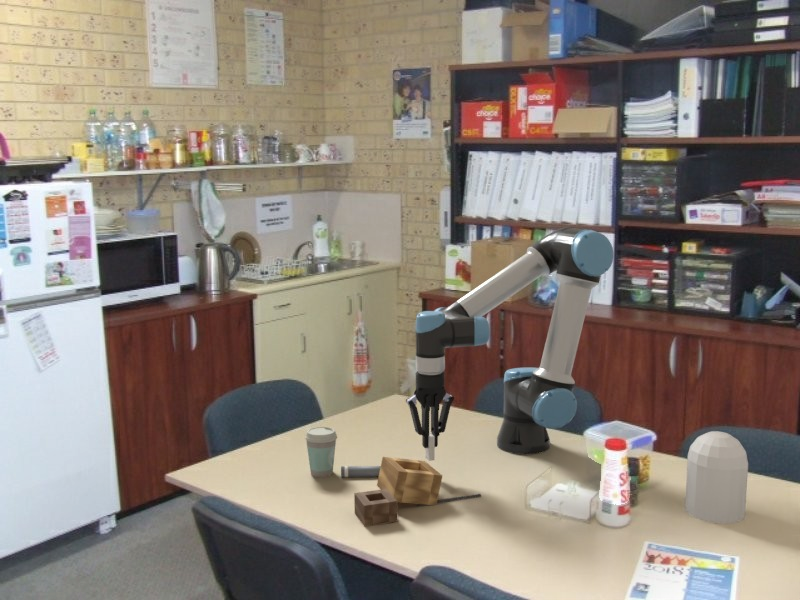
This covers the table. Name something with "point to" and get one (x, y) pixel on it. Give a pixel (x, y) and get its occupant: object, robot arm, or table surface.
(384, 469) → the light wooden square box
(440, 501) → the grey long thin rod
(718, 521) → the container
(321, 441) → the coffee cup
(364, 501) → the bead dark
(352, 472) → the gray tube
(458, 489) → the table surface
